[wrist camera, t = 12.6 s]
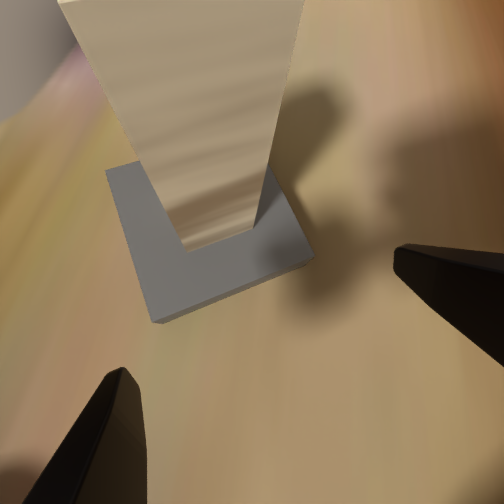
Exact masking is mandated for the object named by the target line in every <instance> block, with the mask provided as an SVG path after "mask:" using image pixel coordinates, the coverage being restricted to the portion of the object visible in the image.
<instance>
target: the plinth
mask: <svg viewBox="0 0 504 504" xmlns="http://www.w3.org/2000/svg"><path fill="white" fill-rule="evenodd" d="M105 172H106V176H107V179H108V182H109V185H110V189H111V192H112V195H113V198H114V202H115V205H116V208H117V211H118V214H119V218H120V221H121V224H122V227H123V231H124V234H125V237H126V240H127V244H128V247H129V250H130V253H131V257H132V260H133V263H134V266H135V270H136V273H137V276H138V279H139V282H140V286H141V289H142V292H143V295H144V299H145V302H146V305H147V308H148V312H149V315H150V318H151V321H152V322H153V323H159V324H164V323H166V322H168V321H171V320H173V319H176V318H178V317H180V316H183V315H185V314H188V313H190V312H193V311H195V310H197V309H200V308H202V307H205V306H207V305H210V304H212V303H214V302H217V301H219V300H222V299H224V298H227V297H229V296H231V295H234V294H236V293H239V292H241V291H244V290H246V289H248V288H251V287H253V286H256V285H258V284H261V283H263V282H265V281H268V280H270V279H273V278H275V277H277V276H280V275H282V274H285V273H287V272H290V271H292V270H294V269H297V268H299V267H302V266H304V265H306V264H307V263H308V262H309V261H310V260H311V259H312V258H313V257H314V256H315V254H314V252H313V250H312V248H311V246H310V244H309V242H308V240H307V238H306V236H305V234H304V232H303V230H302V228H301V226H300V225H299V223H298V221H297V219H296V217H295V215H294V213H293V211H292V209H291V207H290V205H289V203H288V201H287V199H286V197H285V195H284V193H283V191H282V189H281V187H280V185H279V183H278V181H277V179H276V178H275V176H274V174H273V172H272V170H271V168H270V166H269V164H267V168H266V173H265V177H264V182H263V186H262V190H261V195H260V199H259V204H258V208H257V213H256V217H255V221H254V226H253V229H251V230H248V231H245V232H243V233H240V234H237V235H234V236H232V237H229V238H226V239H224V240H221V241H218V242H215V243H213V244H210V245H207V246H204V247H202V248H199V249H196V250H194V251H191V252H188V253H187V252H186V250H185V248H184V246H183V244H182V242H181V240H180V238H179V236H178V234H177V232H176V230H175V228H174V226H173V225H172V223H171V221H170V219H169V217H168V215H167V213H166V211H165V209H164V207H163V205H162V203H161V201H160V199H159V197H158V195H157V194H156V192H155V190H154V188H153V186H152V184H151V182H150V180H149V178H148V176H147V174H146V172H145V170H144V168H143V166H142V165H141V163H140V161H136V162H133V163H129V164H126V165H122V166H119V167H115V168H112V169H108V170H105Z"/></svg>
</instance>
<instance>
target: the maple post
mask: <svg viewBox="0 0 504 504" xmlns="http://www.w3.org/2000/svg"><path fill="white" fill-rule="evenodd" d="M57 1H58V4H59V6H60V8H61V10H62V12H63V14H64V15H65V17H66V19H67V21H68V23H69V25H70V27H71V29H72V31H73V33H74V35H75V37H76V39H77V41H78V43H79V45H80V46H81V48H82V50H83V52H84V54H85V56H86V58H87V60H88V62H89V64H90V66H91V68H92V70H93V72H94V74H95V76H96V77H97V79H98V81H99V83H100V85H101V87H102V89H103V91H104V93H105V95H106V97H107V99H108V101H109V103H110V105H111V106H112V108H113V110H114V112H115V114H116V116H117V118H118V120H119V122H120V124H121V126H122V128H123V130H124V132H125V134H126V135H127V137H128V139H129V141H130V143H131V145H132V147H133V149H134V151H135V153H136V155H137V157H138V159H139V161H140V163H141V165H142V166H143V168H144V170H145V172H146V174H147V176H148V178H149V180H150V182H151V184H152V186H153V188H154V190H155V192H156V194H157V195H158V197H159V199H160V201H161V203H162V205H163V207H164V209H165V211H166V213H167V215H168V217H169V219H170V221H171V223H172V225H173V226H174V228H175V230H176V232H177V234H178V236H179V238H180V240H181V242H182V244H183V246H184V248H185V250H186V252H187V253H188V252H191V251H194V250H196V249H199V248H202V247H204V246H207V245H210V244H213V243H215V242H218V241H221V240H224V239H226V238H229V237H232V236H234V235H237V234H240V233H243V232H245V231H248V230H251V229H253V226H254V221H255V217H256V213H257V208H258V204H259V199H260V195H261V190H262V186H263V182H264V177H265V173H266V168H267V164H268V160H269V155H270V151H271V146H272V142H273V137H274V133H275V129H276V124H277V120H278V115H279V111H280V107H281V102H282V98H283V93H284V89H285V84H286V80H287V76H288V71H289V67H290V62H291V58H292V54H293V49H294V45H295V40H296V36H297V31H298V27H299V23H300V18H301V14H302V9H303V5H304V1H305V0H57Z"/></svg>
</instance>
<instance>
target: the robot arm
mask: <svg viewBox="0 0 504 504" xmlns="http://www.w3.org/2000/svg"><path fill="white" fill-rule="evenodd" d="M393 269H394V272H395V274H396V275H397V276H398V277H399V278H400V279H401V280H402V281H403V282H404V283H405V284H406V285H407V286H408V287H409V288H410V289H412V290H413V291H414V292H415V293H416V294H417V295H418V296H419V297H420V298H421V299H422V300H423V301H424V302H425V303H426V304H427V305H428V306H429V307H430V308H432V309H433V310H434V311H435V312H436V313H438V314H439V315H440V316H441V317H442V318H444V319H445V320H446V321H447V322H449V323H450V324H451V325H452V326H454V327H455V328H456V329H457V330H459V331H460V332H461V333H462V334H463V335H465V336H466V337H467V338H468V339H470V340H471V341H472V342H473V343H475V344H476V345H477V346H478V347H479V348H481V349H482V350H483V351H484V352H486V353H487V354H488V355H489V356H491V357H492V358H493V359H494V360H496V361H497V362H498V363H499V364H500V365H502V366H503V367H504V254H503V253H493V252H484V251H474V250H465V249H455V248H446V247H436V246H427V245H417V244H404V245H402V246H399V247H397V248H396V249H395V251H394V262H393ZM22 504H147V448H146V437H145V428H144V420H143V411H142V402H141V393H140V388H139V386H138V384H137V382H136V381H135V380H134V378H133V377H132V376H131V374H130V373H129V371H128V370H127V369H126V368H125V367H120V368H118V369H115V370H113V371H111V372H109V373H107V374H106V376H105V377H104V379H103V380H102V382H101V383H100V385H99V386H98V388H97V389H96V391H95V392H94V394H93V395H92V397H91V398H90V400H89V401H88V403H87V405H86V406H85V408H84V409H83V411H82V412H81V414H80V415H79V417H78V418H77V420H76V421H75V423H74V424H73V426H72V427H71V429H70V431H69V432H68V434H67V435H66V437H65V438H64V440H63V441H62V443H61V444H60V446H59V447H58V449H57V450H56V452H55V453H54V455H53V457H52V458H51V460H50V461H49V463H48V464H47V466H46V467H45V469H44V470H43V472H42V473H41V475H40V476H39V478H38V479H37V481H36V483H35V484H34V486H33V487H32V489H31V490H30V492H29V493H28V495H27V496H26V498H25V499H24V501H23V502H22Z"/></svg>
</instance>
